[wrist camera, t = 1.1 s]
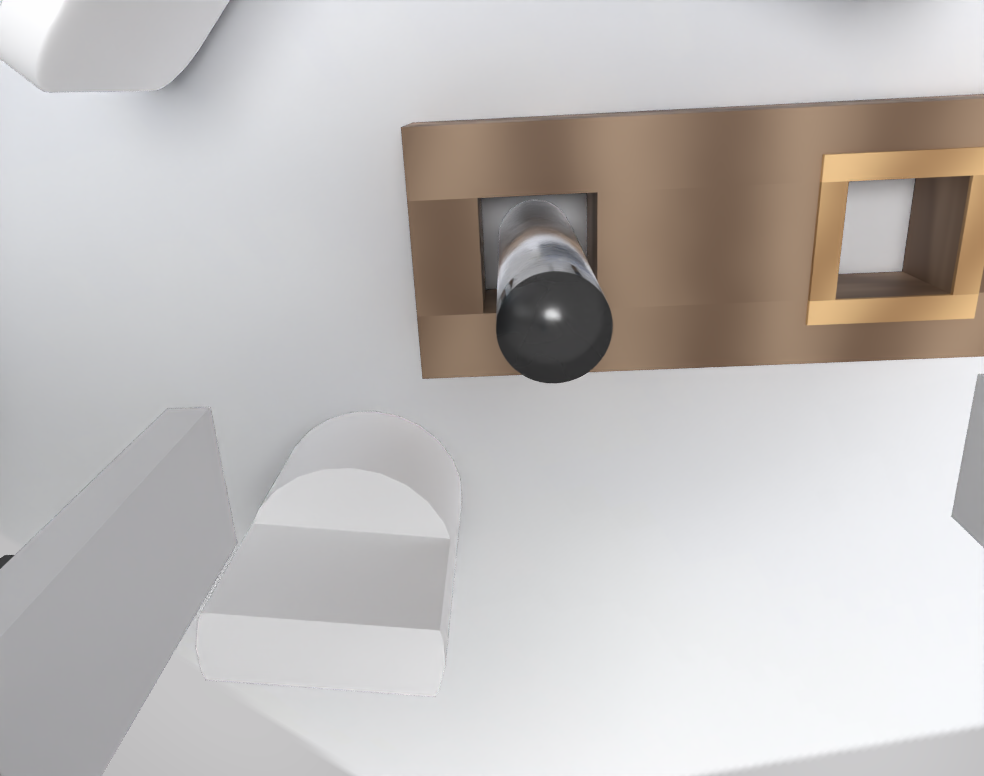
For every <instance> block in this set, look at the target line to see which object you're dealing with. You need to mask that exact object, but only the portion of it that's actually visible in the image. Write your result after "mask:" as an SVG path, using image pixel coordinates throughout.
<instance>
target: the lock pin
mask: <svg viewBox="0 0 984 776" xmlns="http://www.w3.org/2000/svg"><path fill="white" fill-rule="evenodd" d="M612 332H613V319H612V314H611V310H610V307H609V305H608V302H607V300H606V298H605V296H604V294H603V292H602V290H601V288H600V286H599V284H598V282H597V279H596V277H595V275H594V273H593V271H592V269H591V267H590V265H589V263H588V261H587V259H586V257H585V254H584V252H583V250H582V248H581V246H580V244H579V242H578V240H577V238H576V236H575V234H574V232H573V229H572V227H571V225H570V223H569V221H568V219H567V217H566V216H565V214H564V213H563V212H562V211H561V209H559V208H558V207H557V206H556V205H554V204H552V203H550V202H548V201H544V200H535V199H534V200H527V201H524V202H521V203H519V204H517V205H516V206H514V207H513V208H512V209H511V210H510V211H509V212H508V213H507V214H506V215H505V217H504V219H503V220H502V223H501V226H500V230H499V247H498V280H497V313H496V335H497V341H498V345H499V347H500V350H501V352H502V354H503V356H504V357H505V359H506V360H507V362H508V363H509V364H510V365H511V366H512V367H513V368H514V369H515V370H516V371H518V372H519V373H520V374H522V375H524V376H525V377H527V378H530V379H532V380H535V381H539V382H544V383H562V382H567V381H571V380H574V379H577V378H579V377H581V376H583V375H585V374H586V373H588V372H589V371H590V370H592V369H593V368H594V367H595V366H596V365H597V364H598V363H599V362H600V361H601V359H602V358H603V356H604V355H605V353H606V351H607V349H608V347H609V344H610V342H611V338H612Z"/></svg>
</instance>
